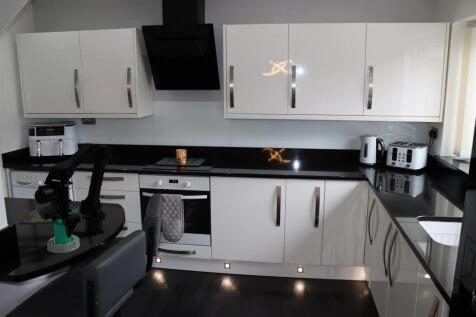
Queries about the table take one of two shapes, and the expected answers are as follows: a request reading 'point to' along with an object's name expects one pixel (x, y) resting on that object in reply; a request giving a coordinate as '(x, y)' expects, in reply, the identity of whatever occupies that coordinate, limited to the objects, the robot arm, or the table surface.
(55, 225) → the candle
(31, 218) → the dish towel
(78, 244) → the candle dish
